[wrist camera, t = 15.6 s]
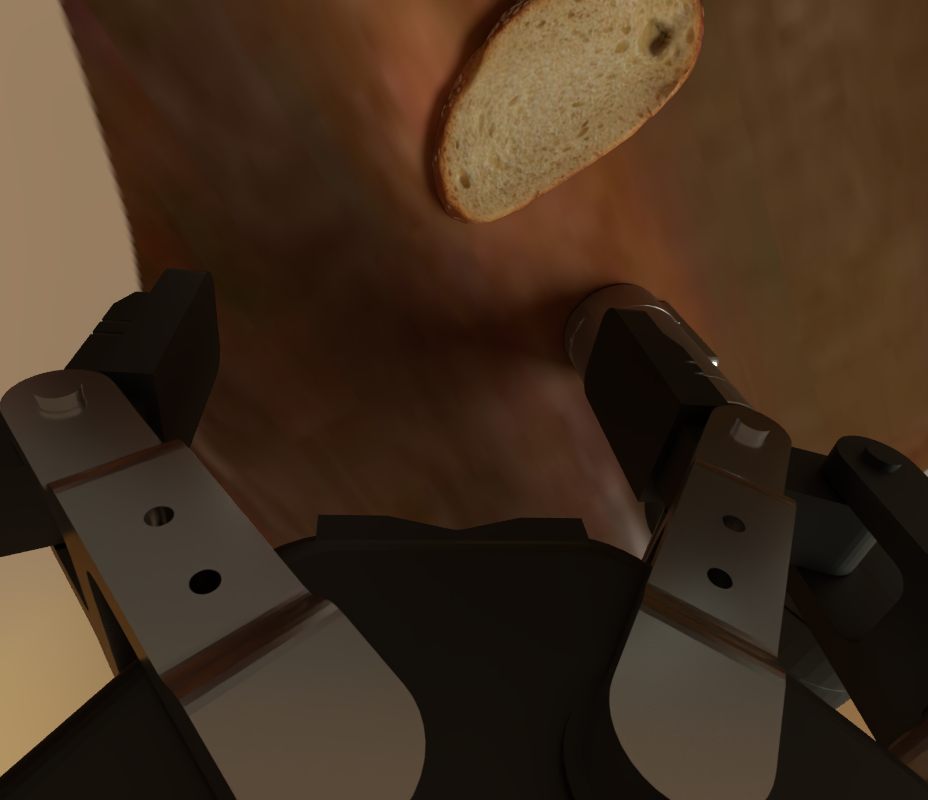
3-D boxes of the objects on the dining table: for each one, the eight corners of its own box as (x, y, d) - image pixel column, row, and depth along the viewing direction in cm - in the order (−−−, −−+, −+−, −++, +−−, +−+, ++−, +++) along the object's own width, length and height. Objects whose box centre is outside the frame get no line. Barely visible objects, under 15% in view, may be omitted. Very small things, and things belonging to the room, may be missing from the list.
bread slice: (429, 222, 46) (435, 240, 43) (439, -73, 36) (448, -75, 33) (645, 224, 49) (663, 242, 46) (713, -46, 39) (744, -47, 36)
